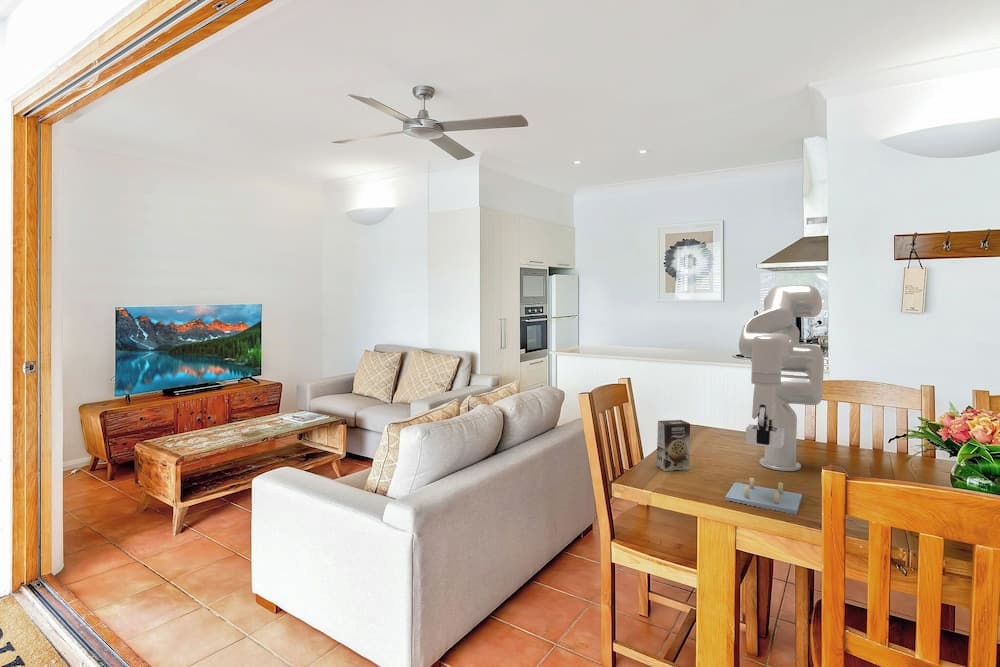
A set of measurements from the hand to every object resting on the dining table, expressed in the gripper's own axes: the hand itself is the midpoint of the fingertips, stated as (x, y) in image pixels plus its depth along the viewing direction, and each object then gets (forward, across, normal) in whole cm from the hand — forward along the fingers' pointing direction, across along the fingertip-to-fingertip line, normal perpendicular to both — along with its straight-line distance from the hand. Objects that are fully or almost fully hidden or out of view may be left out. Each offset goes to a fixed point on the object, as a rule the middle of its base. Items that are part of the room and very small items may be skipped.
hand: (764, 440), depth 150 cm
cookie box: (+17, -14, -30) cm, 37 cm away
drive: (+1, 0, 0) cm, 1 cm away
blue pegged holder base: (+17, 0, 0) cm, 17 cm away
